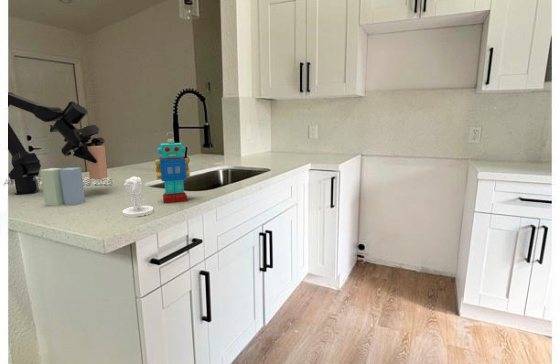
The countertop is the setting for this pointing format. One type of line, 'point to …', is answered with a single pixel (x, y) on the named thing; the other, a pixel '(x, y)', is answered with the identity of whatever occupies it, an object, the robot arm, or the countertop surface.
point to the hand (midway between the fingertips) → (100, 161)
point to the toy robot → (172, 171)
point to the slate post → (72, 186)
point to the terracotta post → (100, 167)
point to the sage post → (52, 186)
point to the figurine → (136, 198)
